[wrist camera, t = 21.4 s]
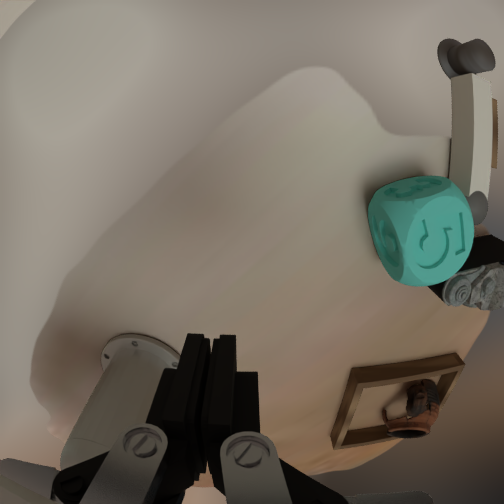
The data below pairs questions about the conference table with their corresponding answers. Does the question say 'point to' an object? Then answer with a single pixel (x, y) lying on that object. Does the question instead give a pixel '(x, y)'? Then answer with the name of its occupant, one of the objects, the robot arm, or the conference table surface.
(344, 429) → the wooden picture frame
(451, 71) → the brown and grey piece
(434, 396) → the pottery mug
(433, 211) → the decorative dice
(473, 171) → the leg
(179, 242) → the conference table surface
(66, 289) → the conference table surface
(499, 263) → the camera
